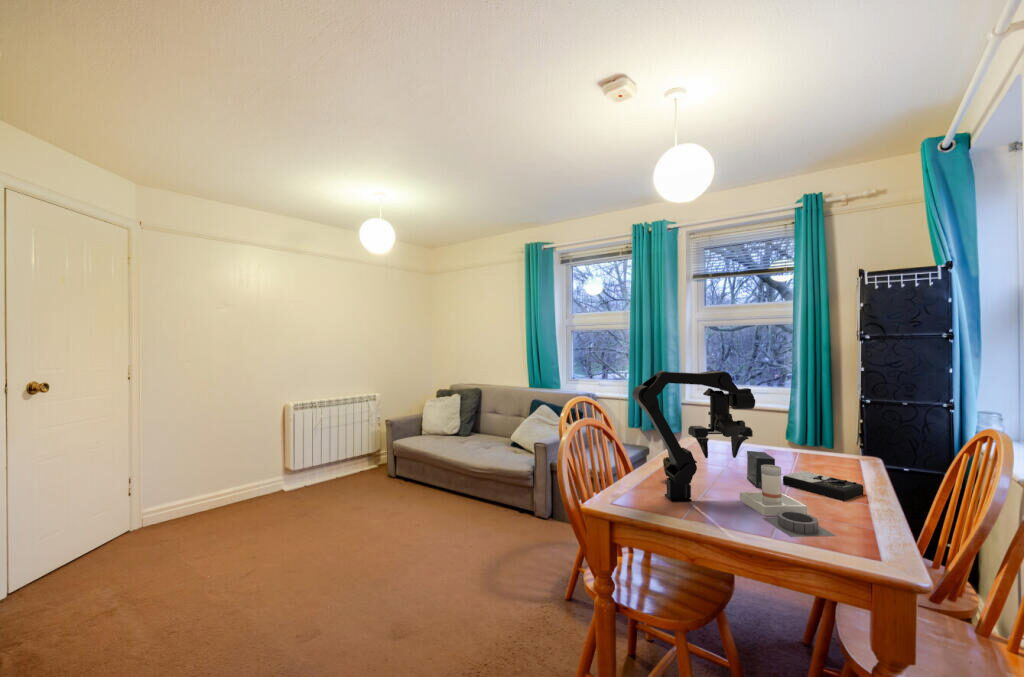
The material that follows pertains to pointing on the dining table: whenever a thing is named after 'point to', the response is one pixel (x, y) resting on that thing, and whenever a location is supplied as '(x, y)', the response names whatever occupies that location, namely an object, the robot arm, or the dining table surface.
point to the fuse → (771, 485)
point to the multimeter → (823, 485)
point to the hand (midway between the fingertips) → (720, 457)
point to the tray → (756, 503)
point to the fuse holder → (798, 524)
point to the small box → (757, 466)
